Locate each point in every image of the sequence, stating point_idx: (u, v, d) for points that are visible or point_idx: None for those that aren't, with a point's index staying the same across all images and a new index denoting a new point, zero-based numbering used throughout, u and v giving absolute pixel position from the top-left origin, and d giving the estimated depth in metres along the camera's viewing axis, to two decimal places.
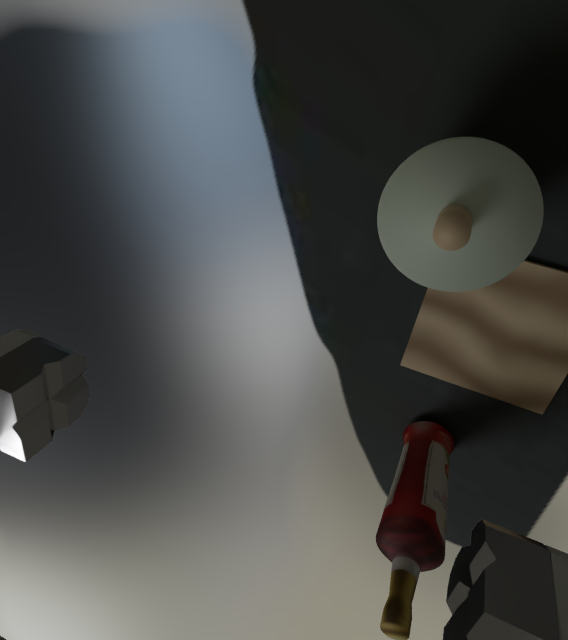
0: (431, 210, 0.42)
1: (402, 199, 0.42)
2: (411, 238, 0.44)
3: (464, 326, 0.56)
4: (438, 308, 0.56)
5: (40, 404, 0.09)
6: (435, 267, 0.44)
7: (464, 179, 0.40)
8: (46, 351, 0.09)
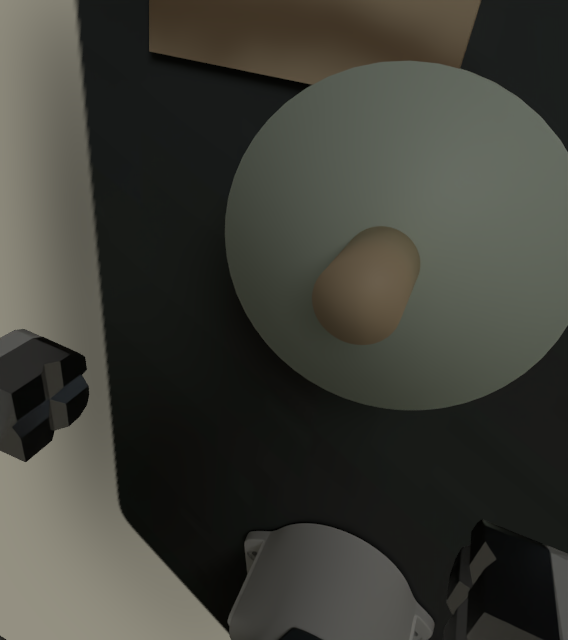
0: (434, 288, 0.18)
1: (505, 318, 0.17)
2: (488, 220, 0.16)
3: None
4: None
5: (40, 404, 0.09)
6: (421, 138, 0.16)
7: None
8: (46, 351, 0.09)
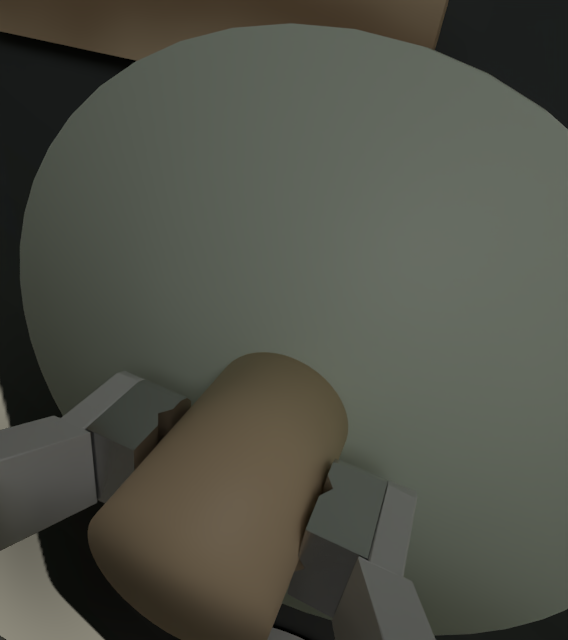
0: (376, 464, 0.09)
1: (510, 532, 0.09)
2: (477, 365, 0.08)
3: None
4: None
5: None
6: (332, 195, 0.07)
7: None
8: (156, 397, 0.08)
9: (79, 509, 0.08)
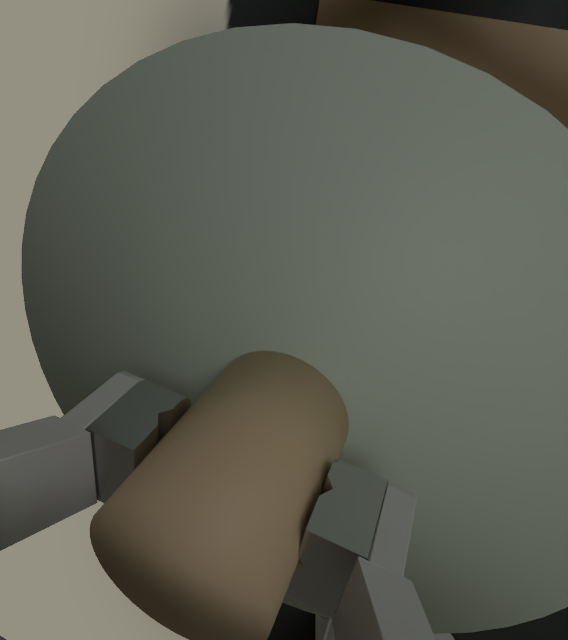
0: (376, 463, 0.10)
1: (510, 530, 0.09)
2: (477, 363, 0.08)
3: None
4: None
5: None
6: (333, 194, 0.07)
7: None
8: (156, 397, 0.08)
9: (79, 509, 0.08)
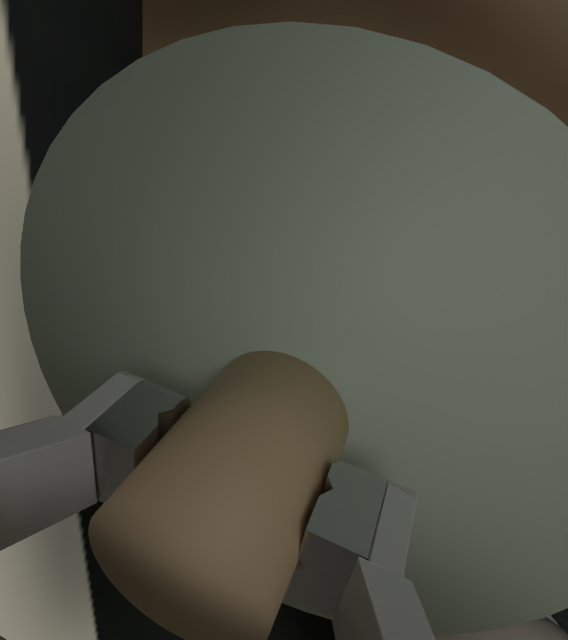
0: (376, 463, 0.09)
1: (510, 531, 0.09)
2: (477, 363, 0.08)
3: None
4: None
5: None
6: (332, 193, 0.07)
7: None
8: (155, 397, 0.08)
9: (79, 509, 0.08)
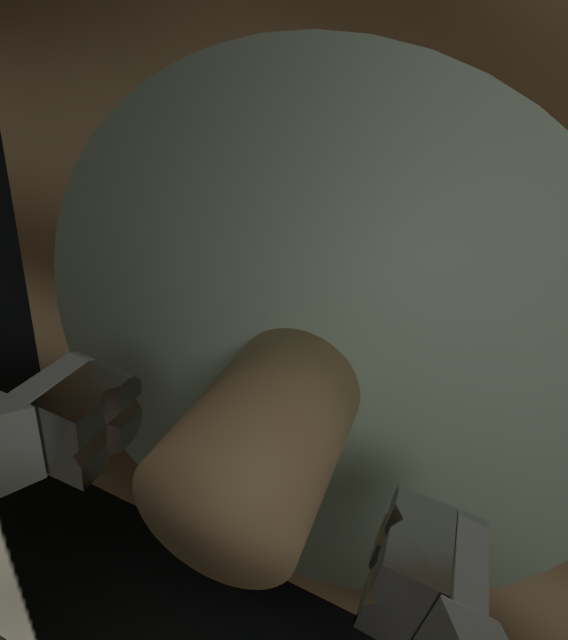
0: (385, 431, 0.10)
1: (509, 491, 0.10)
2: (478, 334, 0.09)
3: None
4: None
5: (99, 431, 0.09)
6: (349, 181, 0.08)
7: None
8: (104, 375, 0.09)
9: (28, 483, 0.09)
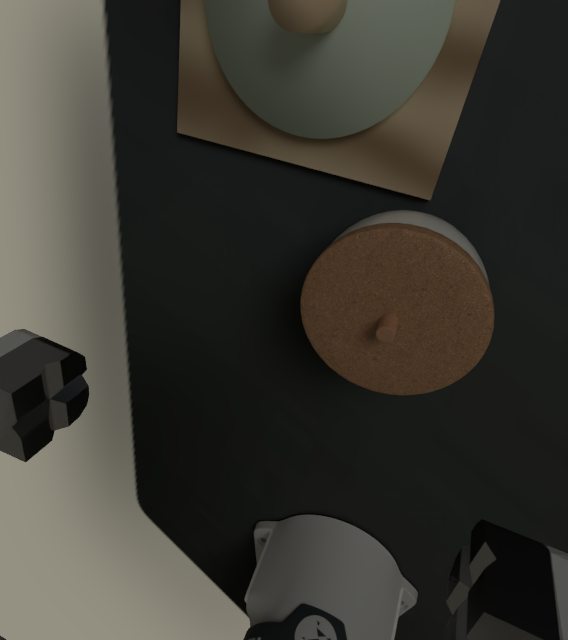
0: (358, 16, 0.25)
1: (407, 33, 0.24)
2: None
3: None
4: (446, 40, 0.25)
5: (40, 404, 0.09)
6: None
7: (314, 77, 0.27)
8: (46, 351, 0.09)
9: None
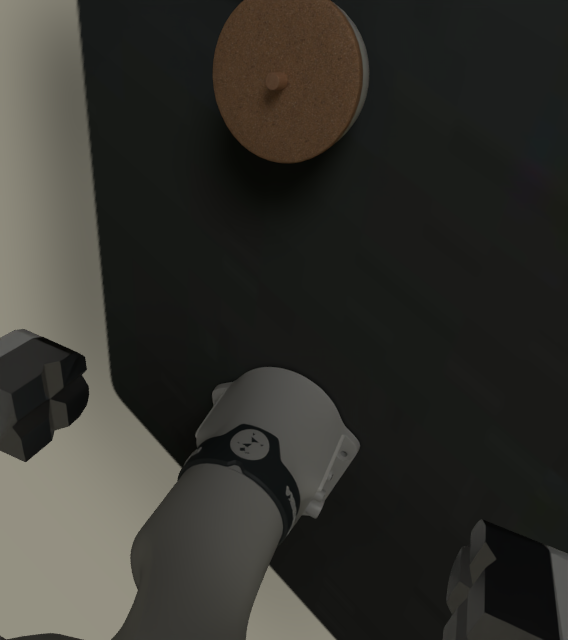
0: None
1: None
2: None
3: None
4: None
5: (40, 404, 0.09)
6: None
7: None
8: (46, 351, 0.09)
9: None
